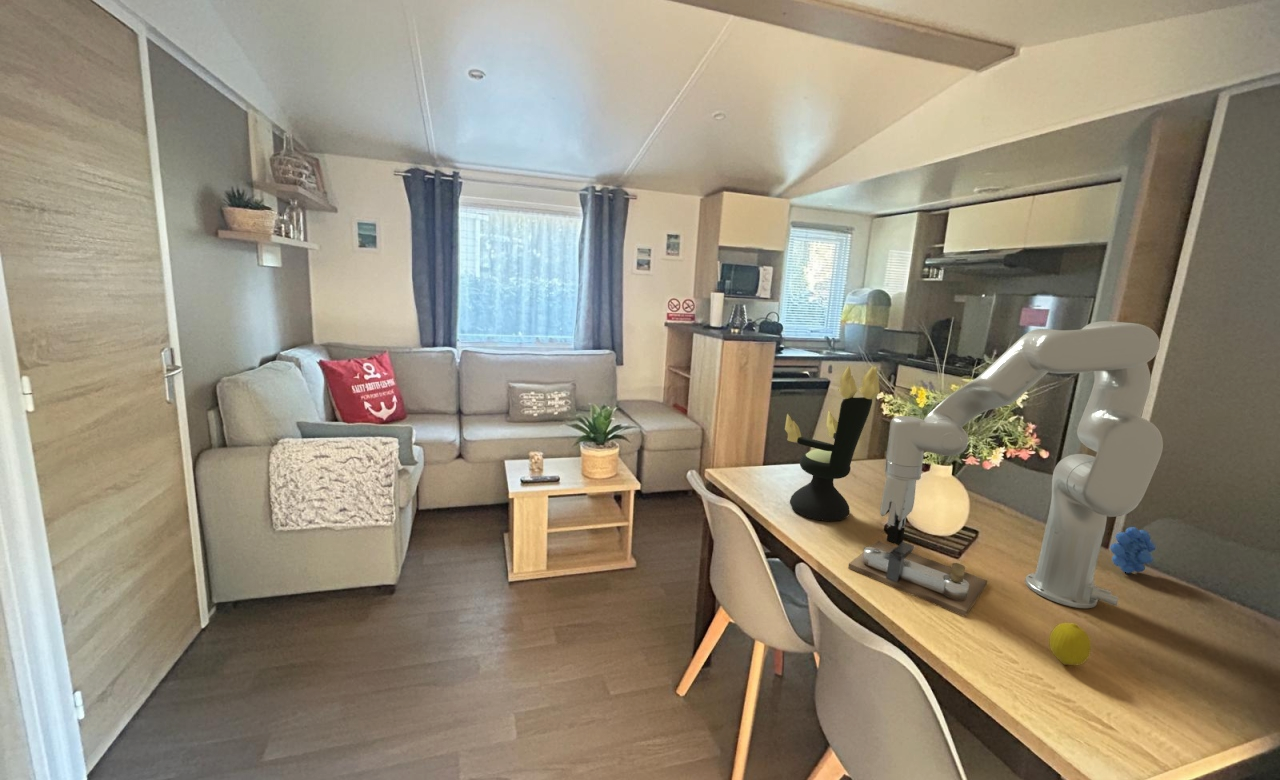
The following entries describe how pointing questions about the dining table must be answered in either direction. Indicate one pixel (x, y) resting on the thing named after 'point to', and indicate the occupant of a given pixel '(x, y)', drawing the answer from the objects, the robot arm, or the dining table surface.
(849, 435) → the black toy throne
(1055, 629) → the lemon
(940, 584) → the bolt
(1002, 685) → the dining table surface
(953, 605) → the base board
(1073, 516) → the robot arm
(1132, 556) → the grapes
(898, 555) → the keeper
